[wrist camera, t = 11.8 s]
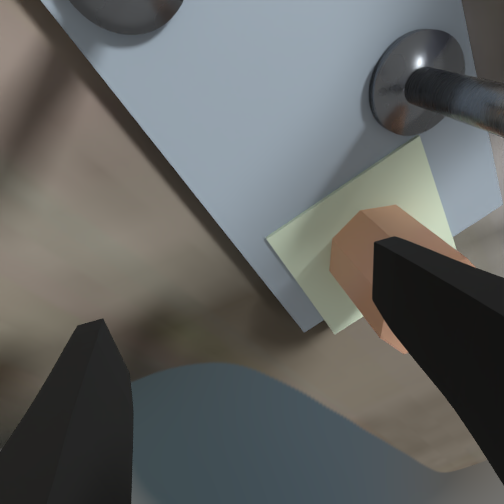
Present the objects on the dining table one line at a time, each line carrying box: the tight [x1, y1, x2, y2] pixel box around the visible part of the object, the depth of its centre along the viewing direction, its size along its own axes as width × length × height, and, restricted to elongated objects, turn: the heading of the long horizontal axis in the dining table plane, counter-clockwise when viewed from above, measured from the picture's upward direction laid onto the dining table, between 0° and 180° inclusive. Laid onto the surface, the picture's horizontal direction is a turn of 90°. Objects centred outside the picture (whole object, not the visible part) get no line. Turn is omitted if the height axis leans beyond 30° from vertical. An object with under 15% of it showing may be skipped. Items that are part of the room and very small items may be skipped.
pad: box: [265, 135, 456, 334], centre depth 23 cm, size 9×9×1 cm
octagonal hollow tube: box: [329, 205, 475, 354], centre depth 20 cm, size 5×5×6 cm
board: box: [41, 0, 503, 332], centre depth 16 cm, size 30×14×1 cm, turn 32°
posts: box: [69, 0, 504, 138], centre depth 12 cm, size 17×4×9 cm, turn 70°
